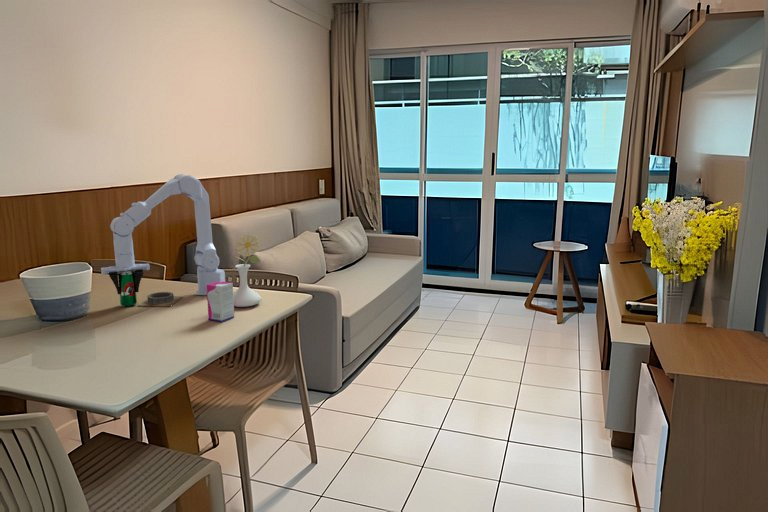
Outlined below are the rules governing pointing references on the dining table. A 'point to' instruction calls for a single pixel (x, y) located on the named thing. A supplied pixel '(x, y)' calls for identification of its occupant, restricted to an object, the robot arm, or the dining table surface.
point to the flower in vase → (244, 293)
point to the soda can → (127, 288)
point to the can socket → (160, 299)
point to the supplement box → (220, 301)
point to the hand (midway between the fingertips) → (128, 292)
